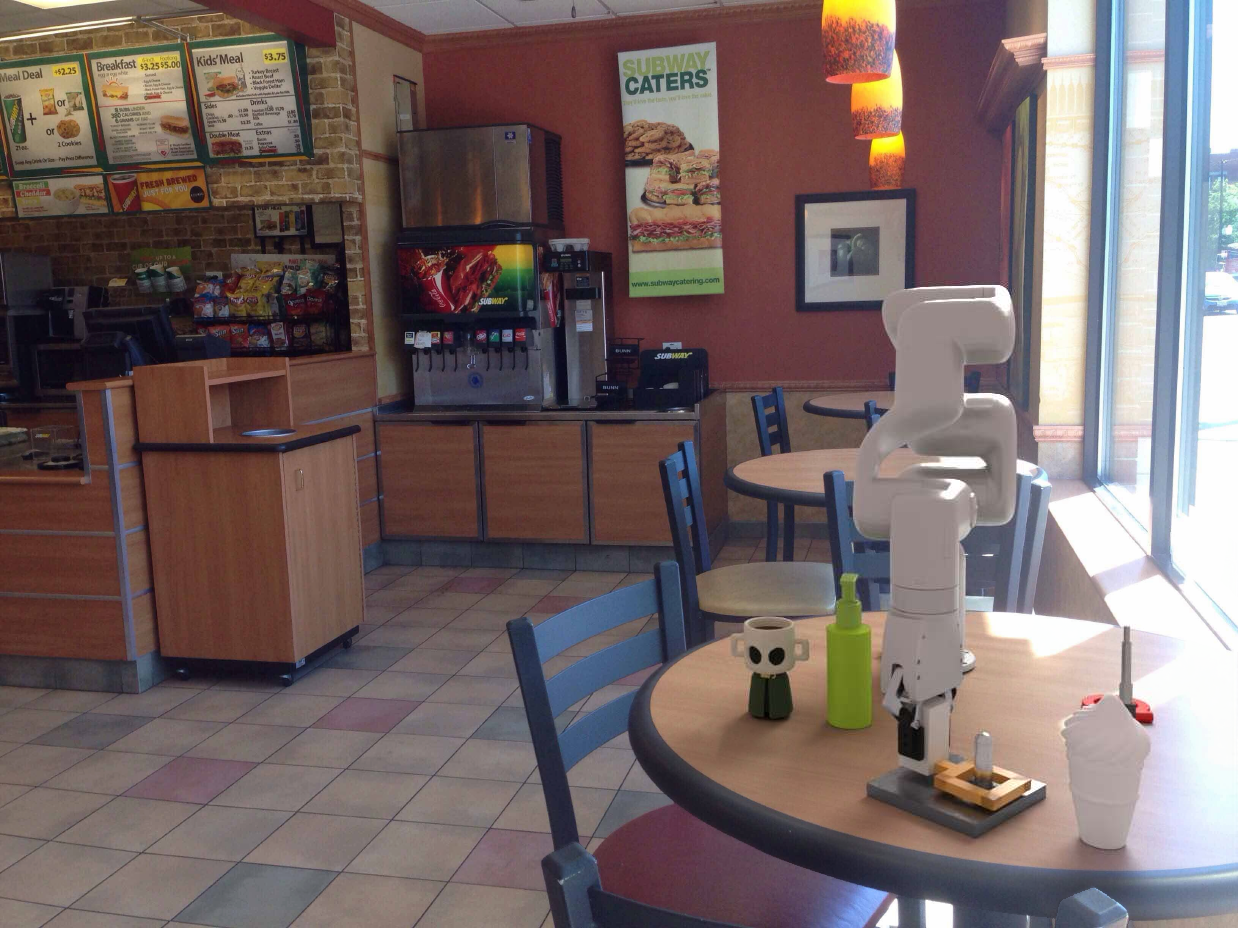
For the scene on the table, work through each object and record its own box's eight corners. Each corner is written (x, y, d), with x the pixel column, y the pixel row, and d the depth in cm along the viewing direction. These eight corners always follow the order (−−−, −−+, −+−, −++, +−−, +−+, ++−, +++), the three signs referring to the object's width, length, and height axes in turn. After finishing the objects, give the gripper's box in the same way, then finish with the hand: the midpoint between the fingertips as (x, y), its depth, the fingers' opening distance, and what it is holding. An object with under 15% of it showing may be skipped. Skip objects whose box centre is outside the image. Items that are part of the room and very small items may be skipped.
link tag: (889, 768, 123) (890, 702, 121) (927, 750, 127) (929, 686, 126) (993, 810, 112) (996, 739, 111) (1031, 789, 117) (1034, 720, 116)
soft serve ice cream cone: (1044, 823, 113) (1046, 679, 111) (1119, 818, 114) (1123, 674, 112) (1085, 863, 105) (1088, 707, 103) (1165, 856, 105) (1170, 702, 103)
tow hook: (1074, 701, 149) (1093, 722, 140) (1075, 611, 148) (1094, 626, 139) (1138, 702, 148) (1161, 724, 139) (1139, 611, 147) (1163, 627, 138)
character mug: (726, 719, 146) (724, 628, 144) (737, 701, 153) (735, 614, 151) (806, 726, 142) (804, 632, 141) (813, 707, 149) (812, 618, 147)
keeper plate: (866, 795, 121) (866, 724, 120) (938, 760, 130) (938, 693, 129) (975, 837, 111) (976, 760, 109) (1045, 796, 119) (1047, 724, 118)
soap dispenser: (874, 712, 147) (873, 571, 144) (869, 730, 140) (868, 583, 137) (831, 708, 149) (830, 569, 146) (824, 726, 142) (822, 581, 139)
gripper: (939, 579, 129) (938, 723, 131) (850, 606, 118) (852, 762, 121) (995, 589, 123) (993, 740, 125) (907, 619, 113) (907, 782, 115)
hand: (924, 749), depth 123 cm, fingers open, 4 cm apart
